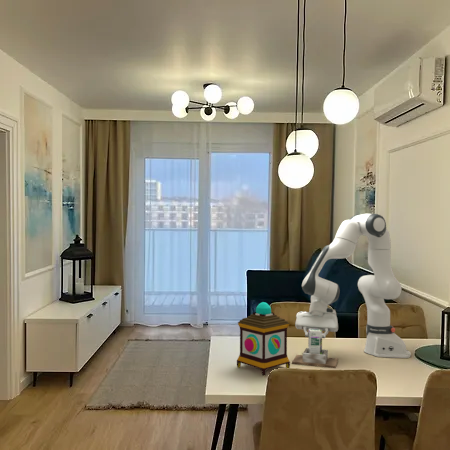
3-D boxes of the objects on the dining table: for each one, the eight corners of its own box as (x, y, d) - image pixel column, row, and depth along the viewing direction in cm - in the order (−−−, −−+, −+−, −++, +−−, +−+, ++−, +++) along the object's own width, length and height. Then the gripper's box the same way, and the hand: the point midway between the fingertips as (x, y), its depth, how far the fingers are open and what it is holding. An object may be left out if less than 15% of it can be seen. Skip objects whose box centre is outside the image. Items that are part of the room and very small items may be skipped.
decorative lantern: (262, 359, 231) (263, 297, 231) (294, 369, 216) (294, 302, 216) (232, 367, 218) (232, 301, 218) (263, 378, 203) (264, 307, 203)
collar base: (338, 360, 230) (338, 350, 230) (335, 368, 218) (335, 357, 218) (296, 356, 236) (296, 346, 236) (291, 363, 224) (291, 353, 224)
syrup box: (309, 361, 225) (310, 330, 224) (308, 357, 230) (308, 327, 230) (322, 361, 224) (322, 331, 224) (319, 357, 230) (320, 327, 230)
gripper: (296, 307, 237) (292, 331, 228) (338, 310, 230) (336, 335, 221) (297, 315, 241) (294, 338, 232) (339, 317, 235) (337, 342, 225)
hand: (315, 337), depth 226 cm, fingers closed on syrup box, 6 cm apart
